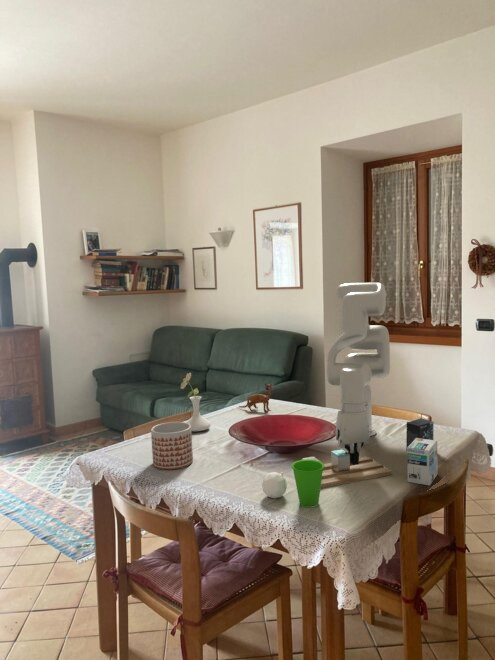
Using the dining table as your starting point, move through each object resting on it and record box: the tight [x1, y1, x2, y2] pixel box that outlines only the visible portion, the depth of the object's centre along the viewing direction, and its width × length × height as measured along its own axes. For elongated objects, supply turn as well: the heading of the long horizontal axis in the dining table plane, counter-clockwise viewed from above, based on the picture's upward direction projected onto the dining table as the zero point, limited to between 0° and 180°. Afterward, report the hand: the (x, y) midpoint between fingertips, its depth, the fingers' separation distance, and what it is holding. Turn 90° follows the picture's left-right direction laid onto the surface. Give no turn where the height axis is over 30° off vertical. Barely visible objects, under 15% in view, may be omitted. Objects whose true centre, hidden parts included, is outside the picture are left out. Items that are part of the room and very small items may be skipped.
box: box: [405, 417, 434, 452], centre depth 182 cm, size 8×6×11 cm
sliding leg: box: [330, 448, 350, 472], centre depth 164 cm, size 5×4×6 cm
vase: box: [150, 421, 194, 471], centre depth 181 cm, size 14×14×13 cm
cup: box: [291, 459, 325, 508], centre depth 144 cm, size 9×9×11 cm
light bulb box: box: [406, 438, 438, 486], centre depth 159 cm, size 11×7×11 cm, turn 148°
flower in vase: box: [179, 372, 212, 432], centre depth 217 cm, size 13×11×25 cm
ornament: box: [261, 471, 288, 499], centre depth 150 cm, size 7×7×8 cm
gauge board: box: [301, 456, 392, 489], centre depth 165 cm, size 14×26×6 cm, turn 109°
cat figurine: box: [238, 382, 273, 413], centre depth 245 cm, size 18×7×14 cm, turn 65°
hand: (353, 463), depth 166 cm, fingers closed
